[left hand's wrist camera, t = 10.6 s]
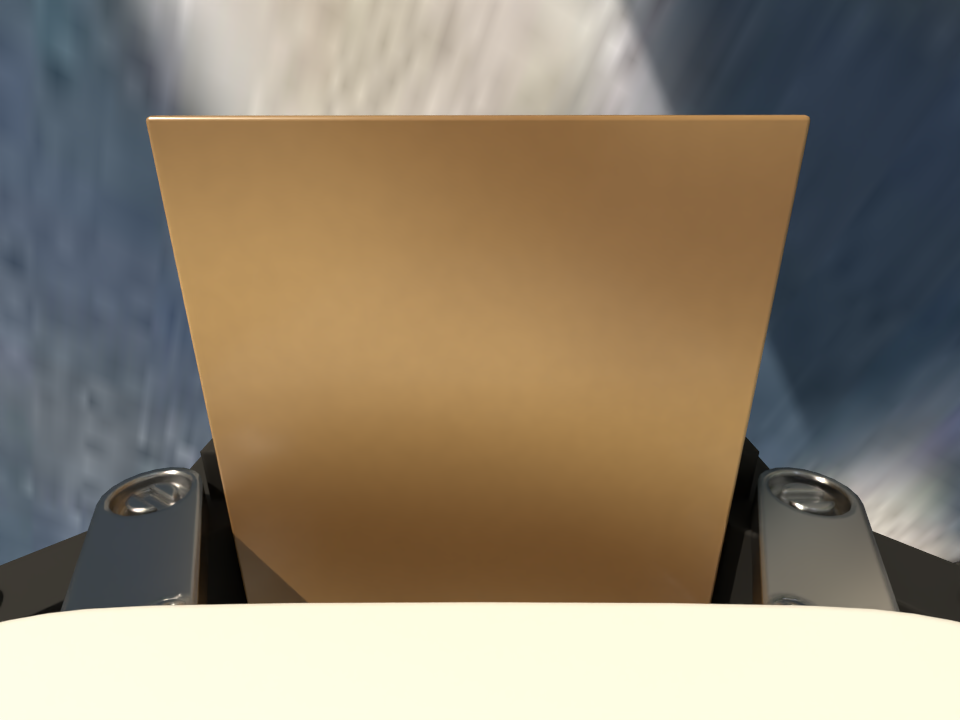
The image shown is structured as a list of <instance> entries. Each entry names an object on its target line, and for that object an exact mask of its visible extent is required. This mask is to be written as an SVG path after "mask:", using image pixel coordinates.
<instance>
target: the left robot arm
mask: <svg viewBox="0 0 960 720" xmlns="http://www.w3.org/2000/svg"><path fill="white" fill-rule="evenodd" d="M200 453H201V457H200V458H199V460H198V461H197V462H196V463H195V464H194V465H193V466H192V467H191V468H190V469H187V468H176V467H170V468H162V469H155V470H152V471H148V472H144V473H140V474H138V475H135V476H133V477H131V478H128V479H126V480H124V481H122V482H120V483H119V484H117V485H115V486H113V487H112V488H111V489H110V490H108V491H107V492H106V493H105V494H104V495H103V496H102V497H101V498H100V500H99V502H98V503H97V505H96V508H95V511H94V514H93V517H92V520H91V523H90V526H89V528H88V531H86V532H84V533H81V534H79V535H76V536H74V537H71V538H69V539H66V540H64V541H61V542H59V543H56V544H54V545H51V546H48V547H46V548H43V549H41V550H38V551H36V552H33V553H31V554H28V555H26V556H23V557H21V558H18V559H16V560H13V561H11V562H8V563H6V564H3V565H1V566H0V720H960V566H959V565H957V564H954V563H952V562H949V561H947V560H944V559H942V558H939V557H936V556H934V555H931V554H929V553H926V552H924V551H921V550H919V549H916V548H914V547H911V546H909V545H906V544H904V543H901V542H899V541H896V540H894V539H891V538H889V537H886V536H884V535H881V534H878V533H876V532H873V531H872V528H871V526H870V523H869V520H868V517H867V514H866V511H865V508H864V505H863V503H862V502H861V500H860V498H859V497H858V496H857V495H856V494H855V493H854V492H853V491H852V490H850V489H849V488H848V487H847V486H845V485H843V484H841V483H840V482H838V481H836V480H834V479H832V478H829V477H827V476H825V475H822V474H820V473H816V472H812V471H808V470H805V469H798V468H790V467H784V468H773V469H769V468H768V467H767V466H766V464H765V463H764V462H763V461H762V460H761V459H760V458H759V457H758V455H759V451H758V450H757V449H756V448H755V446H754V445H753V444H752V443H751V442H750V441H749V440H748V439H747V438H746V437H745V440H744V445H743V450H742V455H741V460H740V465H739V469H738V474H737V479H736V484H735V489H734V494H733V499H732V503H731V508H730V513H729V518H728V523H727V528H726V533H725V537H724V542H723V547H722V552H721V557H720V562H719V567H718V571H717V576H716V581H715V586H714V591H713V596H712V601H711V604H689V603H530V602H429V603H271V604H247V599H246V594H245V589H244V585H243V580H242V575H241V570H240V566H239V561H238V556H237V551H236V547H235V542H234V537H233V532H232V528H231V523H230V518H229V513H228V509H227V504H226V499H225V494H224V489H223V485H222V480H221V475H220V470H219V466H218V461H217V456H216V451H215V447H214V442H213V438H212V439H211V441H210V442H209V443H208V444H207V445H206V446H205V447H204V448H203V449H202V450H201V451H200Z"/></svg>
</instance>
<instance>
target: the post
mask: <svg viewBox="0 0 960 720" xmlns="http://www.w3.org/2000/svg"><path fill="white" fill-rule="evenodd" d="M146 123H147V128H148V132H149V137H150V142H151V147H152V151H153V156H154V161H155V166H156V171H157V175H158V180H159V185H160V190H161V194H162V199H163V204H164V209H165V213H166V218H167V223H168V228H169V232H170V237H171V242H172V247H173V251H174V256H175V261H176V266H177V270H178V275H179V280H180V285H181V290H182V294H183V299H184V304H185V309H186V313H187V318H188V323H189V328H190V332H191V337H192V342H193V347H194V351H195V356H196V361H197V366H198V370H199V375H200V380H201V385H202V390H203V394H204V399H205V404H206V409H207V413H208V418H209V423H210V428H211V432H212V437H213V442H214V447H215V451H216V456H217V461H218V466H219V470H220V475H221V480H222V485H223V489H224V494H225V499H226V504H227V509H228V513H229V518H230V523H231V528H232V532H233V537H234V542H235V547H236V551H237V556H238V561H239V566H240V570H241V575H242V580H243V585H244V589H245V594H246V599H247V604H271V603H429V602H530V603H689V604H711V601H712V596H713V591H714V586H715V581H716V576H717V571H718V567H719V562H720V557H721V552H722V547H723V542H724V537H725V533H726V528H727V523H728V518H729V513H730V508H731V503H732V499H733V494H734V489H735V484H736V479H737V474H738V469H739V465H740V460H741V455H742V450H743V445H744V440H745V435H746V430H747V426H748V421H749V416H750V411H751V406H752V401H753V396H754V392H755V387H756V382H757V377H758V372H759V367H760V362H761V358H762V353H763V348H764V343H765V338H766V333H767V328H768V324H769V319H770V314H771V309H772V304H773V299H774V294H775V290H776V285H777V280H778V275H779V270H780V265H781V260H782V256H783V251H784V246H785V241H786V236H787V231H788V226H789V222H790V217H791V212H792V207H793V202H794V197H795V192H796V187H797V183H798V178H799V173H800V168H801V163H802V158H803V153H804V149H805V144H806V139H807V134H808V129H809V124H810V117H808V116H806V115H358V116H150V117H148V118H147V120H146Z"/></svg>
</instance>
